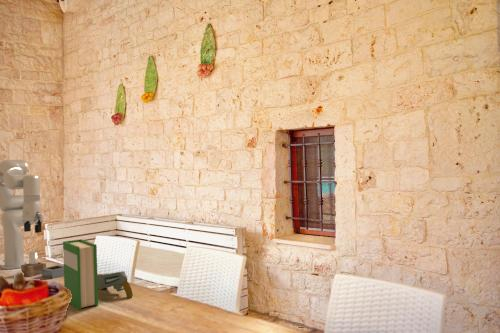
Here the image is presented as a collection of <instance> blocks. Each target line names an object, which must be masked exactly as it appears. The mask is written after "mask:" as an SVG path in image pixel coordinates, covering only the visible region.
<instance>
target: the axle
mask: <svg viewBox="0 0 500 333" xmlns="http://www.w3.org/2000/svg"><path fill="white" fill-rule="evenodd" d="M38 262H39V253H38V251H31V252H28V263H29V265H30V266H33V265H38Z"/></svg>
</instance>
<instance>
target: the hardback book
mask: <svg viewBox="0 0 500 333" xmlns="http://www.w3.org/2000/svg"><path fill="white" fill-rule="evenodd" d="M62 248H63V249H62V251H63V252H62V253H63V256H62V257H63V266H64V276H63V283H64V284H63V286H64V287H66V288H67V289H69V290H70V291H71V294H72V299H71V302H70V304H69V305H71V306H72V307H74V308H75V309H76V310H78V311H82V308H85V307H89V306H90V307H92V306H95V307H99V288H98V280H97V275H98V258H97V257H98V253H97V251H98V250H97V244H96V243H94V242H91V241H90V242H89V241H87V240H84V239H74V240H67V241H63V242H62ZM64 287H63V288H64Z"/></svg>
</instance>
